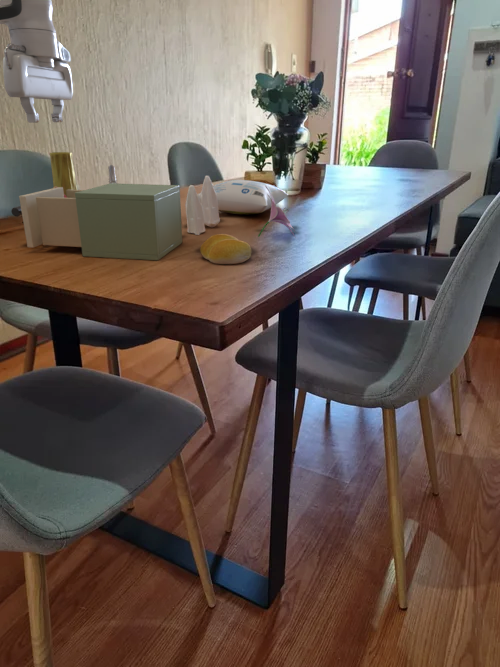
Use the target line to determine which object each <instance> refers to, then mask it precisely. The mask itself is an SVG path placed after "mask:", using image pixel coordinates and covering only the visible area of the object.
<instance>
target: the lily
mask: <svg viewBox="0 0 500 667" xmlns="http://www.w3.org/2000/svg"><path fill="white" fill-rule="evenodd" d="M266 188H267V187H266ZM267 189H268V188H267ZM268 191H269V190H268ZM269 193H270V191H269ZM270 194H271V193H270ZM267 195H268V194H267ZM268 196H269V195H268ZM271 197H272V199H271V198H270V196H269V198H270V199H271V208H270V213H269V214H270V215H269V219H268V221H267V222H266V223H265V224H264V225H263V227H262V228H261V230H260V232H259V233H258V236H257V237H258V238H259V237H260V236H261V235H262V233H263V231H264V230H265V228H266V227H267V226H268V225H269V224H270V223H271V222H274V223H278V224H281V225H282V226H283V225H284V227H286V228H287V229H288V230H289V231H290V232H291V234H292V235H293V237H294V238H295V239H297V238H296V235H295V234H294V233H296V230H295V228H293V226H292V224H291V221H290V220H289V218H288V217H287V214H286V213H287V211H289V210H288V209H286V207H284V209H282V207H281V206H280V207H279V206H277V204H275V201H274V198H273V196H272V195H271ZM272 200H273V201H272ZM292 229H293V230H292Z"/></svg>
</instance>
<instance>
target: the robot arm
mask: <svg viewBox="0 0 500 667" xmlns="http://www.w3.org/2000/svg"><path fill="white" fill-rule="evenodd" d="M52 1H53V0H0V25H5V26H7V28H8V32H9V39H10V43H8V44H7V45H6V47H5V48H4V50H3V54H4V57H3V59H2V73H3V74H2V75H3V82H4V83H3V84H4V90H5V92H6V94H7V96H8V97H9V98H18V99H19V102H20V105H21V107H22V109H23V111H24V112H25V114H26V120H27V122H28V123H31V124H32V123H34V124H36V123H39V122H40V118H39V116H40V115H39V112H36V109H35V107H34V104H35V100H36V99H38V100H51V101H50V102H51V105H52V107H53V109H52V113H50V115H51V121H52V123H63V120H64V119H63V112H64V107H65V103H64V101H71V100H72V99H73V95H74V87H73V85H74V84H73V77H72V76H73V75H72V71H71V70H72V69H71V66H70V65H69V63H71V60H72V58H71V53H70V52H69V50H68V49H67V48H65V47H64V46H63V44H62V43H61V42H60V41H59V40H58V39H57V38H58V37H57V31H56V28H55V26H54V22H53V9H54V7H53V2H52ZM34 99H35V100H34Z"/></svg>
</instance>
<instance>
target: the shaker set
mask: <svg viewBox="0 0 500 667" xmlns="http://www.w3.org/2000/svg"><path fill="white" fill-rule="evenodd" d="M203 178H204V179H203V182H202V187H201V191H200V192H201V202H200V199H199V197H198V193H197V189H196V187H195V186H194V185H193V184H190V185H189V186H188V190H187V194H186V199H185V206H184V207H185V216H186V226H187V227H186V228H187V230H186V232H187V233H189V234H194V235H195V236H199V235H200V234H202V233H205V232H206V226H207V227H209V228H215V227H216V226H217V225H219V223H220V221H221V218H220V211H218V200H217V195H216V192H215V190H214V187H213V186H214V184H213V181H212V180H211V177H210V175H205V176H204V177H203Z"/></svg>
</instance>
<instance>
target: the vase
mask: <svg viewBox="0 0 500 667" xmlns="http://www.w3.org/2000/svg"><path fill="white" fill-rule="evenodd" d="M49 158H50V166H51V173H52V174H51V175H52V176H51V177H52V184H53V187H55V186H57V187H63V191H64V194H65V195H66V196H67V194H66V190H78V186H77V181H76V173H75V166H74V160H73V152H69V151H56V152H54V151H53V152H49Z"/></svg>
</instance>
